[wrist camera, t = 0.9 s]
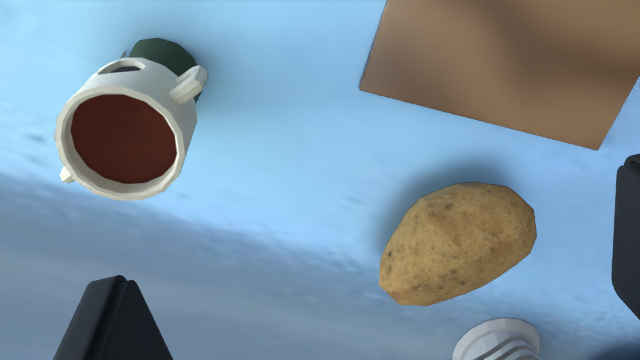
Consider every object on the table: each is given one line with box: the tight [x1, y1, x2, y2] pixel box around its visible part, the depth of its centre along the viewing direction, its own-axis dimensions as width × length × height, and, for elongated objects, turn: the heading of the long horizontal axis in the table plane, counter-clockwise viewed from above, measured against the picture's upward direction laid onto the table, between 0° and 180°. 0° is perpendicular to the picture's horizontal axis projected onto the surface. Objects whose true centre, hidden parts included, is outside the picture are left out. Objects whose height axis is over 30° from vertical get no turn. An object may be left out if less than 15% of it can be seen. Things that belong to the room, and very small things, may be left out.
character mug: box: [55, 38, 208, 201], centre depth 36 cm, size 11×7×13 cm, turn 124°
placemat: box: [359, 0, 640, 150], centre depth 42 cm, size 16×22×1 cm
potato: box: [379, 182, 537, 306], centre depth 46 cm, size 10×14×8 cm
